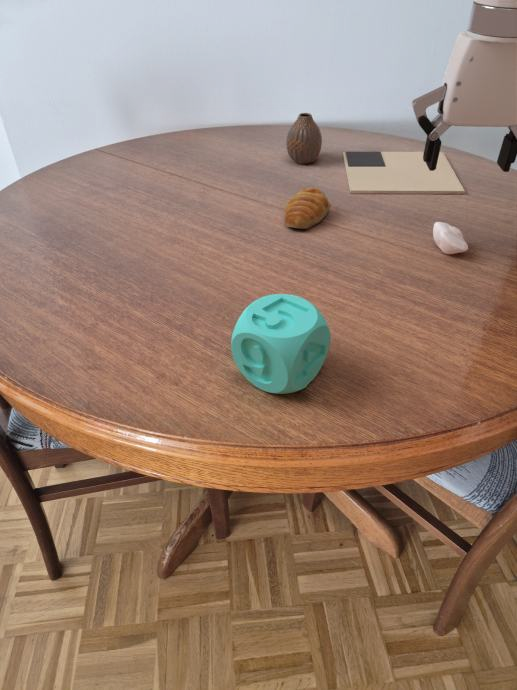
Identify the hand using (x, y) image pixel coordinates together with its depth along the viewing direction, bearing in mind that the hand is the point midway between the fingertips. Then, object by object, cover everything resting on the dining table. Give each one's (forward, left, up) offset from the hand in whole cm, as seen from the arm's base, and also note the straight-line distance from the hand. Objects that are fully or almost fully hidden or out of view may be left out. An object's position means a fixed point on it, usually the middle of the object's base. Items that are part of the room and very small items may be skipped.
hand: (466, 167), depth 73 cm
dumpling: (0, 0, -13) cm, 13 cm away
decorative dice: (+25, +27, -13) cm, 39 cm away
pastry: (+21, -10, -13) cm, 26 cm away
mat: (+3, -28, -13) cm, 31 cm away
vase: (+21, -34, -13) cm, 42 cm away
